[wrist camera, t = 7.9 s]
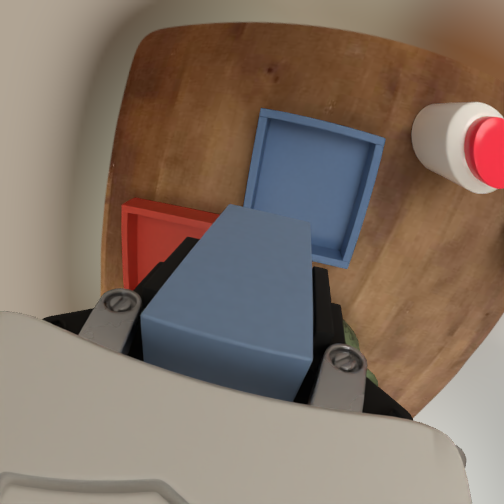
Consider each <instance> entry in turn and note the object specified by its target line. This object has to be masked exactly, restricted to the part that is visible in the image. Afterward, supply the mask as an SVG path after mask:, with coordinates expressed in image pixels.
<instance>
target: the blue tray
mask: <svg viewBox="0 0 504 504" xmlns="http://www.w3.org/2000/svg"><path fill="white" fill-rule="evenodd" d="M384 144H385V138H383V137H380V136H376V135H373V134H370V133H367V132H363V131H360V130H356V129H353V128H349V127H346V126H342V125H338V124H334V123H330V122H326V121H322V120H318V119H314V118H310V117H305V116H301V115H296V114H291V113H286V112H281V111H276V110H271V109H265V108H261V109H260V115H259V120H258V126H257V131H256V136H255V142H254V148H253V153H252V159H251V164H250V170H249V176H248V181H247V187H246V193H245V199H244V204H243V207H246V208H250V209H255V210H259V211H264V212H268V213H272V214H277V215H281V216H285V217H289V218H294V219H298V220H302V221H306V222H309V223H310V229H311V252H312V261H314V262H319V263H323V264H327V265H332V266H336V267H340V268H345V269H348V266H349V263H350V260H351V257H352V254H353V251H354V248H355V245H356V242H357V239H358V236H359V233H360V230H361V227H362V224H363V220H364V217H365V214H366V210H367V207H368V204H369V200H370V197H371V193H372V190H373V186H374V183H375V179H376V175H377V172H378V168H379V164H380V160H381V156H382V152H383V148H384V147H383V146H384Z"/></svg>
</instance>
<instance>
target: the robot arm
mask: <svg viewBox="0 0 504 504" xmlns="http://www.w3.org/2000/svg"><path fill="white" fill-rule="evenodd" d="M199 240H200V239H197V238H193V237H186V238H185V239H184V241H183V242H182V243H181V244H180V245H179V246H178V247H177V248H176V249H175V250H174V251H173V253H172V254H171V255H170V256H169V257H168V258H167V259H166V260H165V261H164V262H159V263H158V264H157V265H156V266H155V267H154V268H153V269H152V270H151V271H150V272H149V273H148V274H147V276H146V277H145V278H144V279H143V280H142V281H141V282H140V283H139V284H138V285H137V287H136V288H135V289H134V290H133V291H132V290H129V289H123V288H119V289H113V290H110V291H108V292H106V293H104V294H103V295H102V296H101V298H100V299H99V301H98V303H97V304H96V306H95V308H93V309H88V310H83V311H77V312H71V313H66V314H61V315H55V316H50V317H46V318H44V319H42V320H41V319H38V318H36V317H33V316H30V315H26V314H22V313H17V312H9V311H1V312H0V504H472V500H471V494H470V489H469V484H468V480H467V476H466V472H465V466H466V457H465V454H464V452H463V451H462V449H460V448H459V447H458V446H456V445H455V444H454V442H453V441H452V440H451V439H450V438H449V437H448V436H447V435H446V434H444V433H443V432H441V431H439V430H437V429H436V428H433V427H431V426H428V425H426V424H423V423H420V422H416V421H413V418H412V417H411V415H410V414H409V413H408V411H407V410H405V409H404V408H403V407H402V406H401V405H399V404H398V403H397V402H396V401H395V400H394V399H392V398H391V397H390V396H389V395H388V394H386V393H385V392H384V391H383V390H382V389H380V388H379V387H378V386H377V385H376V384H375V383H373V382H372V381H371V380H370V379H369V378H367V377H366V374H367V360H366V358H365V357H364V355H363V354H362V353H361V352H360V351H359V350H358V349H356V348H355V347H352V346H350V345H347V344H346V342H345V334H344V326H343V318H342V311H341V306H340V305H338V304H334V303H331V296H330V287H329V278H328V270H327V269H323V268H319V267H315V266H314V267H313V269H312V285H313V361H312V363H311V365H310V367H309V369H308V372H307V374H306V376H305V378H304V380H303V382H302V384H301V386H300V388H299V390H298V392H297V394H296V396H295V398H294V400H293V402H289V401H284V400H279V399H274V398H270V397H265V396H261V395H256V394H252V393H248V392H243V391H239V390H235V389H231V388H227V387H224V386H220V385H216V384H212V383H209V382H205V381H202V380H198V379H195V378H192V377H188V376H185V375H182V374H179V373H176V372H173V371H169V370H166V369H163V368H160V367H158V366H155V365H152V364H149V363H146V362H144V358H143V347H142V334H141V313H142V312H143V311H144V309H145V308H146V307H147V305H148V304H149V303H150V302H151V300H152V299H153V298H154V296H155V295H156V294H157V292H158V291H159V290H160V289H161V287H162V286H163V285H164V283H165V282H166V281H167V280H168V278H169V277H170V276H171V275H172V273H173V272H174V271H175V270H176V268H177V267H178V266H179V265H180V263H181V262H182V261H183V260H184V258H185V257H186V256H187V255H188V253H189V252H190V251H191V250H192V248H193V247H194V246H195V245H196V243H197V242H198V241H199Z"/></svg>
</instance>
